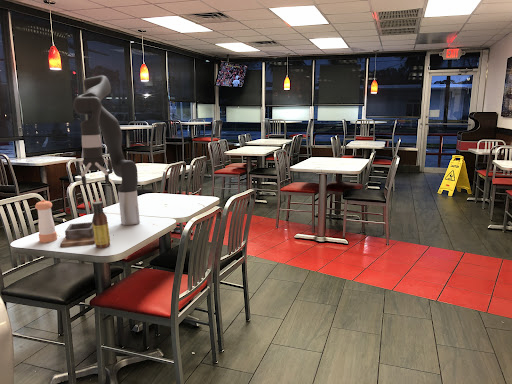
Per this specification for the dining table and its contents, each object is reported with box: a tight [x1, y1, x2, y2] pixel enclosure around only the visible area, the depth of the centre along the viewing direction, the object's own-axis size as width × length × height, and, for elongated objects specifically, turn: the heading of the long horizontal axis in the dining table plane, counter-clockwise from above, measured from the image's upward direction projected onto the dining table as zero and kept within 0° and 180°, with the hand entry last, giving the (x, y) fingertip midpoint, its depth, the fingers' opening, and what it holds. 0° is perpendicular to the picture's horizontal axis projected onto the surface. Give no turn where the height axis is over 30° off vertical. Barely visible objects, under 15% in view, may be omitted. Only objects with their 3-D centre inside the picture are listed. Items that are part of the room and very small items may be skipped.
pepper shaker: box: [34, 199, 58, 244], centre depth 187 cm, size 7×7×19 cm
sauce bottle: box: [91, 200, 111, 249], centre depth 176 cm, size 6×6×20 cm
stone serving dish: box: [59, 221, 95, 248], centre depth 189 cm, size 14×20×6 cm
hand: (96, 184), depth 173 cm, fingers open, 8 cm apart
